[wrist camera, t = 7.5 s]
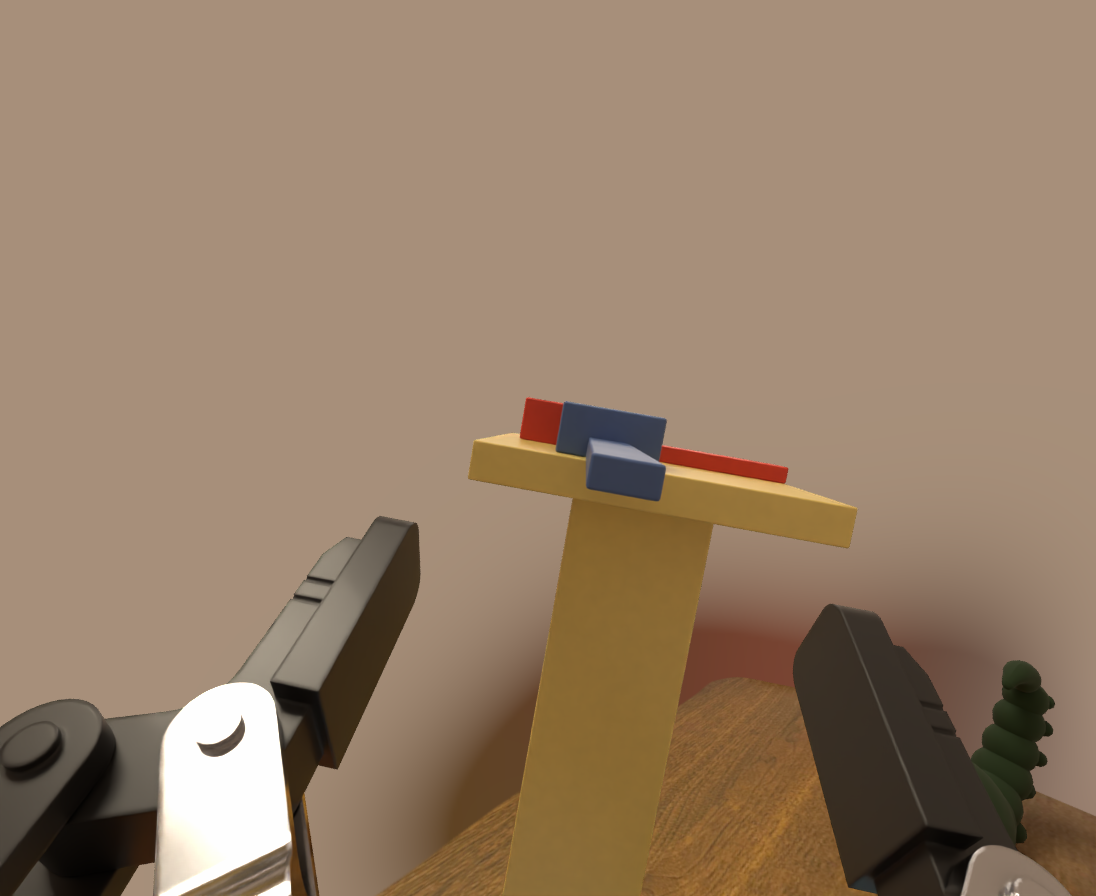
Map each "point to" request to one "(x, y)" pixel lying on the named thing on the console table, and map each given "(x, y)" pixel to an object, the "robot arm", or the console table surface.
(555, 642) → the stand
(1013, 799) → the green caterpillar figure
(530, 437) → the red toy mallet
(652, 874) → the console table surface
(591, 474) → the blue toy mallet
